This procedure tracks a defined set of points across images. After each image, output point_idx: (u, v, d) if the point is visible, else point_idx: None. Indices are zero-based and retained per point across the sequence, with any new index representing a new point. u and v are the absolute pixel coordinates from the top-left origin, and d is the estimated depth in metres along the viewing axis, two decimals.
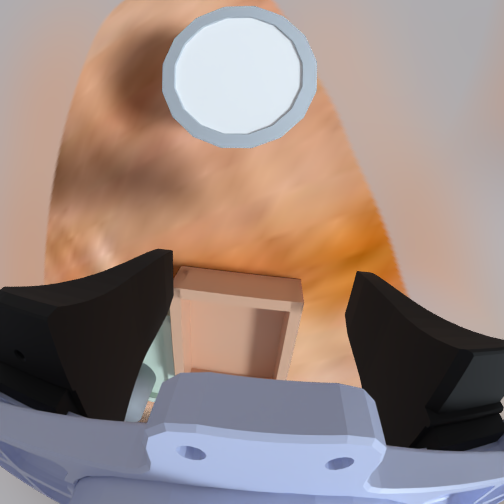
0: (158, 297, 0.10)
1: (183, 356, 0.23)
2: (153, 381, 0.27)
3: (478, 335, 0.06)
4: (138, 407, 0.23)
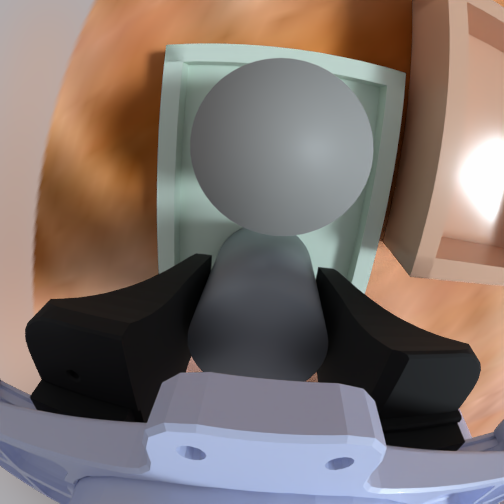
0: None
1: None
2: None
3: (431, 335, 0.06)
4: None
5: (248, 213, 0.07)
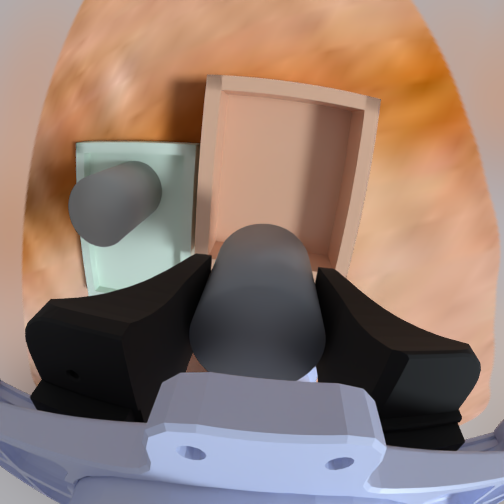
0: None
1: (211, 192, 0.17)
2: None
3: (431, 335, 0.06)
4: (324, 330, 0.09)
5: (90, 237, 0.16)
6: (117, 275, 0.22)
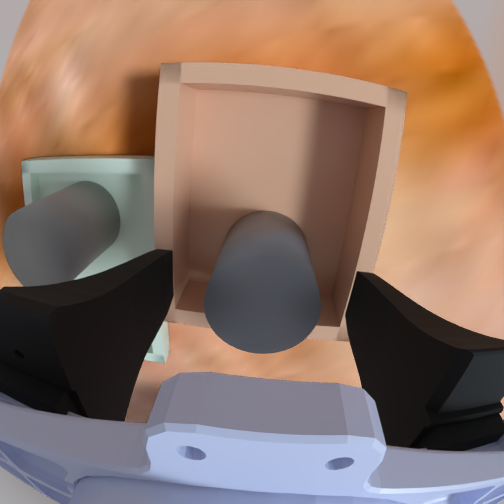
0: (158, 297, 0.10)
1: (173, 226, 0.12)
2: None
3: (478, 335, 0.06)
4: None
5: (30, 285, 0.11)
6: None
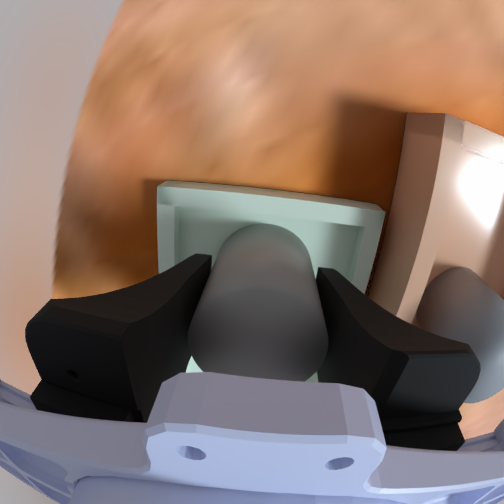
0: None
1: None
2: None
3: (431, 335, 0.06)
4: None
5: None
6: None
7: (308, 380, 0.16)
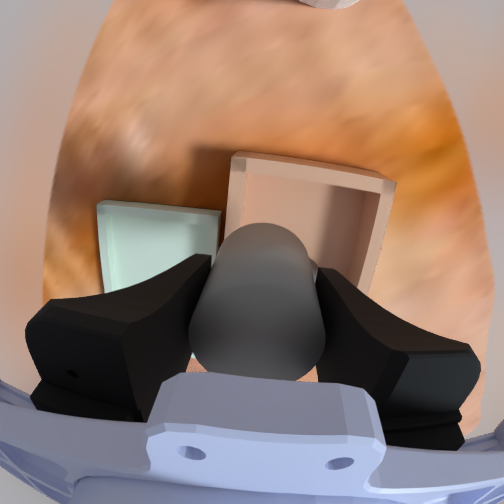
0: None
1: None
2: None
3: (431, 335, 0.06)
4: None
5: None
6: None
7: None
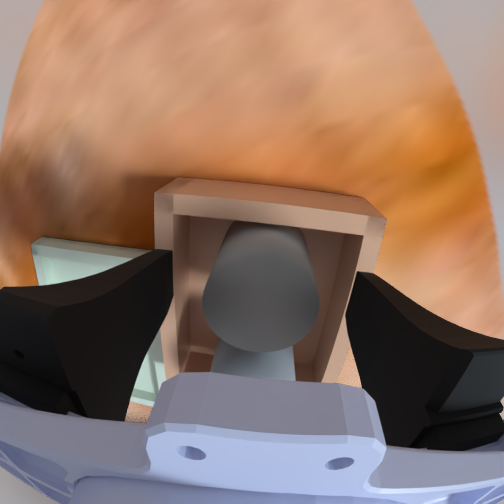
0: (158, 297, 0.10)
1: (176, 327, 0.14)
2: None
3: (478, 335, 0.06)
4: None
5: (236, 339, 0.11)
6: None
7: (156, 380, 0.20)
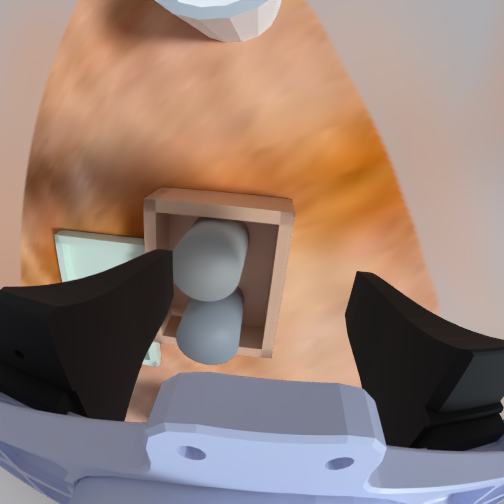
0: (158, 297, 0.10)
1: None
2: None
3: (478, 335, 0.06)
4: (238, 340, 0.19)
5: (190, 291, 0.17)
6: None
7: None
